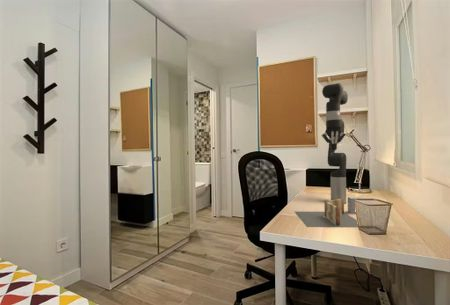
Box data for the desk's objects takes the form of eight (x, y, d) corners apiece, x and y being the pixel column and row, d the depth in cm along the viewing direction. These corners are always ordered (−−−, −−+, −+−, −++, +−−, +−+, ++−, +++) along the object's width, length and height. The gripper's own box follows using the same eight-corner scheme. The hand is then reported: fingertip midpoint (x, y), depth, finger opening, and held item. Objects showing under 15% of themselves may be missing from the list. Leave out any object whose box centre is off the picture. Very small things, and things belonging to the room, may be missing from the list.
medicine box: (362, 212, 124) (362, 197, 124) (366, 214, 120) (366, 198, 120) (347, 212, 125) (347, 197, 125) (351, 214, 121) (350, 198, 121)
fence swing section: (325, 216, 115) (325, 201, 115) (329, 216, 115) (329, 201, 115) (336, 224, 102) (336, 207, 102) (340, 224, 102) (340, 207, 102)
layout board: (294, 212, 127) (294, 211, 127) (342, 212, 125) (342, 211, 125) (307, 227, 101) (307, 226, 101) (369, 228, 99) (369, 227, 99)
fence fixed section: (327, 217, 115) (326, 200, 115) (323, 216, 117) (323, 200, 117) (344, 213, 121) (344, 198, 121) (341, 213, 123) (341, 197, 123)
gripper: (342, 120, 128) (342, 150, 129) (318, 121, 130) (319, 150, 130) (348, 118, 121) (349, 150, 121) (323, 119, 122) (324, 150, 122)
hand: (333, 150), depth 125 cm, fingers closed
